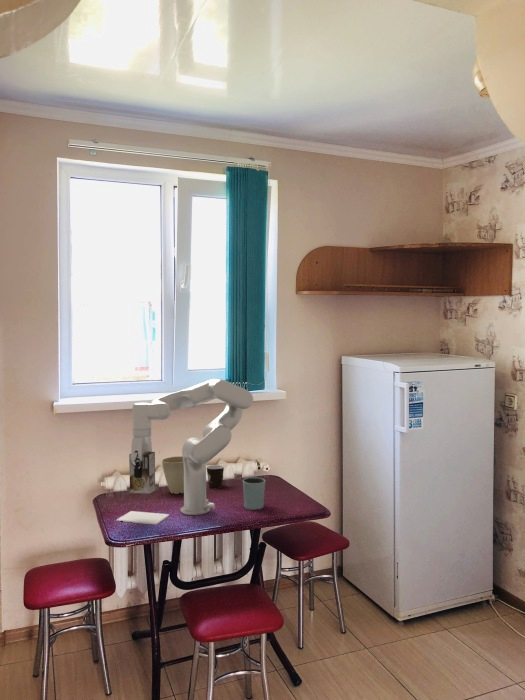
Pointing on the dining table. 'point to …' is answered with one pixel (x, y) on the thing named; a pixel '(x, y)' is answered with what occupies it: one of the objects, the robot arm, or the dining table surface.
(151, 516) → the mat
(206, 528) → the dining table surface
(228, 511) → the dining table surface
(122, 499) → the dining table surface
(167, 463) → the plant pot
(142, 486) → the coffee box
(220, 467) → the coffee mug
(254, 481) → the teal cup
